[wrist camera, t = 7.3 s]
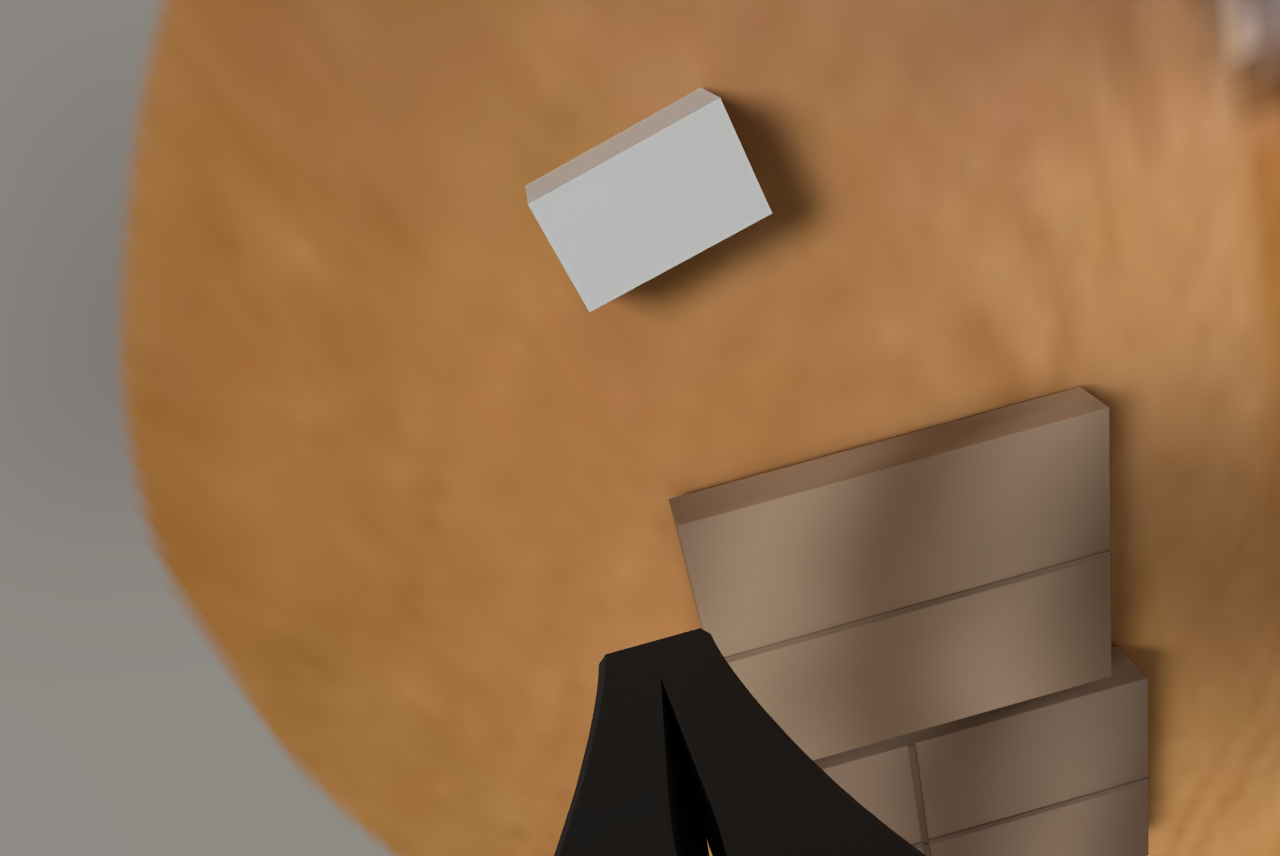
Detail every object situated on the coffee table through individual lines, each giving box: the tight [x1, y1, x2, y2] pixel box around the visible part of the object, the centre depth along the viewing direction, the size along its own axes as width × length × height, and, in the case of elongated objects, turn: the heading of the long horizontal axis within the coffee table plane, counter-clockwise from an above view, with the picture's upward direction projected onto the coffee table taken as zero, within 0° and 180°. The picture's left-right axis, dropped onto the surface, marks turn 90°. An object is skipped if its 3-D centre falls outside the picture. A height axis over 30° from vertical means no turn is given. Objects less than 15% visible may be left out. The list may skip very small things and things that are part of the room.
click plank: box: [669, 387, 1112, 760], centre depth 24 cm, size 10×8×1 cm
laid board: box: [813, 645, 1149, 856], centre depth 27 cm, size 10×7×1 cm
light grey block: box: [525, 87, 772, 312], centre depth 19 cm, size 4×2×2 cm, turn 117°
